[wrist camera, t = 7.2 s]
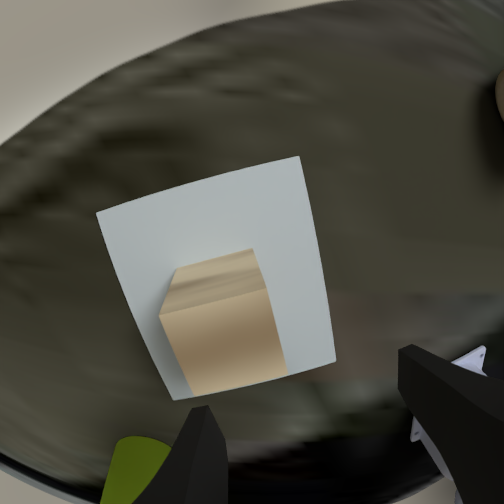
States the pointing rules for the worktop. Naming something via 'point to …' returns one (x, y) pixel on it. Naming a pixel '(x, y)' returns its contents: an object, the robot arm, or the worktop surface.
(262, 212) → the blue-grey mat
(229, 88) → the worktop surface
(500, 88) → the ceramic mug
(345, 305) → the worktop surface
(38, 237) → the worktop surface
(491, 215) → the worktop surface
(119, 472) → the soap dispenser
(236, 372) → the maple block
